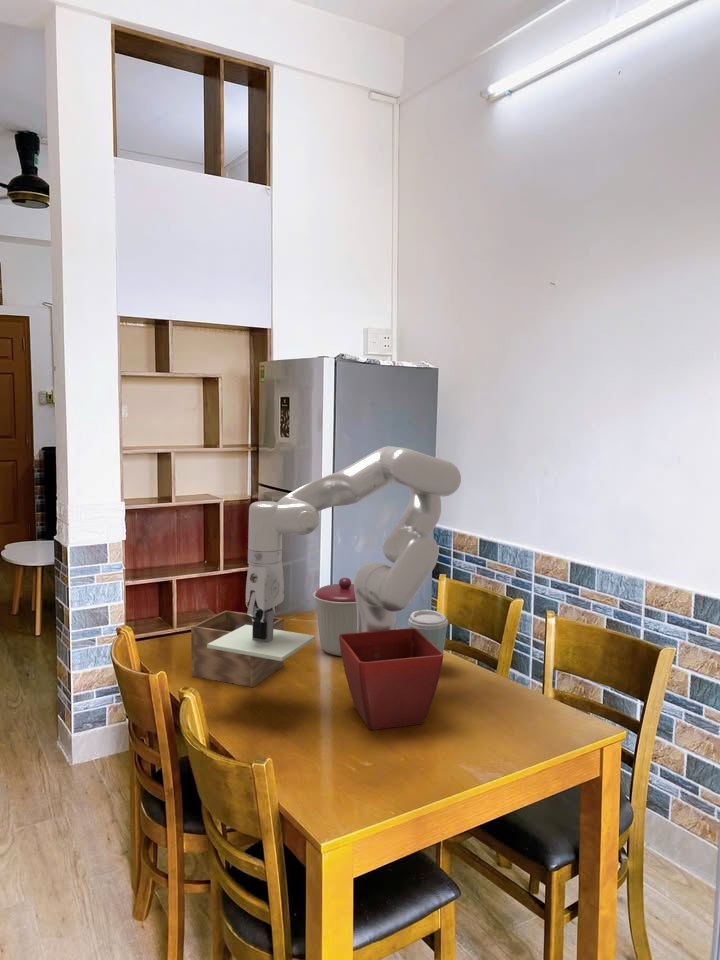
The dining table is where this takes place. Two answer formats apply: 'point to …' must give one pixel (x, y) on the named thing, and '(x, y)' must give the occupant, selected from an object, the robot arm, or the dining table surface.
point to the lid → (262, 641)
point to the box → (224, 662)
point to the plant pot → (391, 675)
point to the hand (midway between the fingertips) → (263, 635)
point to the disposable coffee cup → (430, 626)
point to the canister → (335, 614)
